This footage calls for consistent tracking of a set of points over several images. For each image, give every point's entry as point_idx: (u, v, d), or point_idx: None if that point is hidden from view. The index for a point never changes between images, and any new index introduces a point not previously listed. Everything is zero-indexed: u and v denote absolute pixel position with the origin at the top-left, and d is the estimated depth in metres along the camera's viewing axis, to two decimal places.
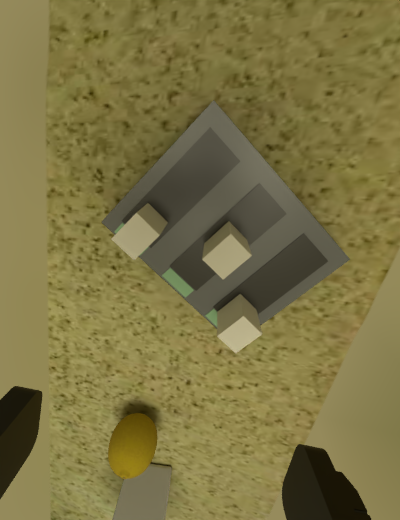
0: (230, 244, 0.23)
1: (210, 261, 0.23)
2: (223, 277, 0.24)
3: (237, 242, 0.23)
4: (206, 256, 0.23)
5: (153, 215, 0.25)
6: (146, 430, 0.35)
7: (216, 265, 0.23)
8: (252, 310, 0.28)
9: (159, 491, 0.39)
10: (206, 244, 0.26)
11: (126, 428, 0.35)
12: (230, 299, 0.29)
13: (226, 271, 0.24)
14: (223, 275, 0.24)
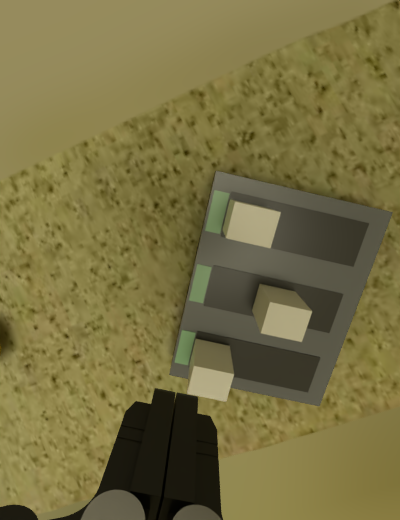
0: (301, 317, 0.21)
1: (272, 310, 0.21)
2: (263, 332, 0.21)
3: (307, 322, 0.21)
4: (275, 304, 0.20)
5: None
6: None
7: (272, 318, 0.21)
8: None
9: None
10: (266, 288, 0.23)
11: None
12: (216, 341, 0.26)
13: (271, 330, 0.21)
14: (265, 330, 0.21)
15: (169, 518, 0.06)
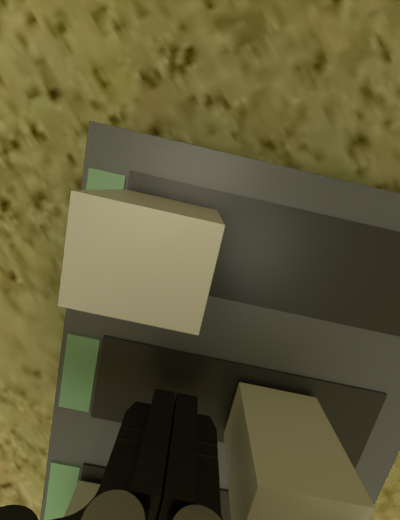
0: None
1: (265, 507, 0.07)
2: None
3: None
4: (272, 490, 0.07)
5: None
6: None
7: None
8: None
9: None
10: (252, 403, 0.10)
11: None
12: None
13: None
14: None
15: (169, 518, 0.06)
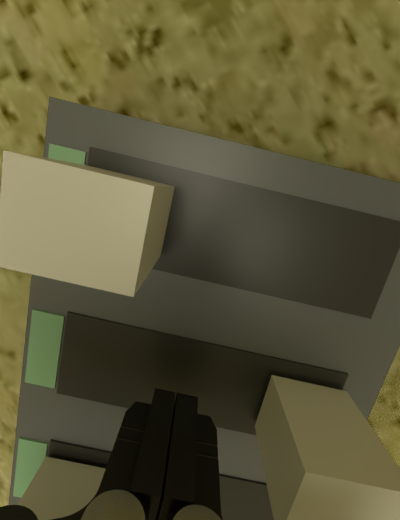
0: (387, 509, 0.08)
1: (311, 492, 0.08)
2: None
3: None
4: (319, 476, 0.08)
5: (161, 223, 0.09)
6: None
7: (309, 510, 0.08)
8: None
9: None
10: (287, 395, 0.10)
11: None
12: (90, 459, 0.13)
13: None
14: None
15: (169, 518, 0.06)
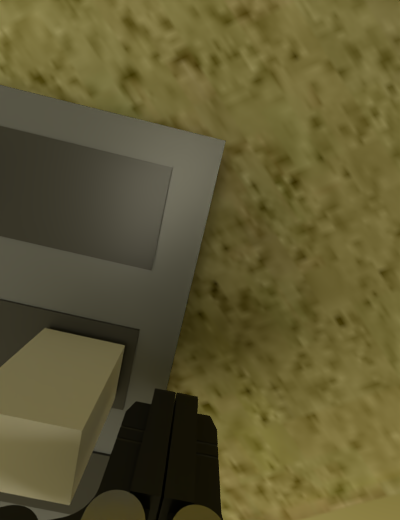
0: (55, 446, 0.07)
1: None
2: None
3: (73, 457, 0.07)
4: None
5: None
6: None
7: None
8: None
9: None
10: (38, 344, 0.10)
11: None
12: None
13: None
14: None
15: (169, 518, 0.06)
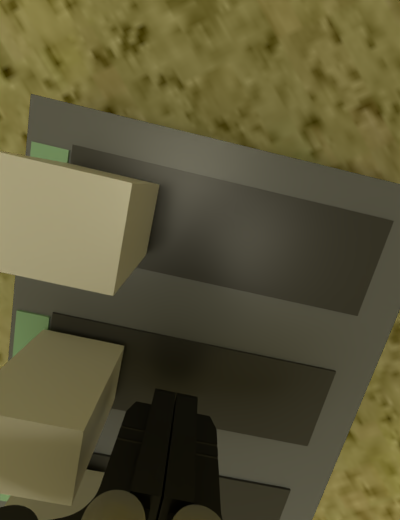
0: (56, 447, 0.07)
1: None
2: None
3: (75, 458, 0.07)
4: None
5: (145, 221, 0.08)
6: None
7: None
8: None
9: None
10: (37, 345, 0.10)
11: None
12: None
13: None
14: None
15: (169, 518, 0.06)
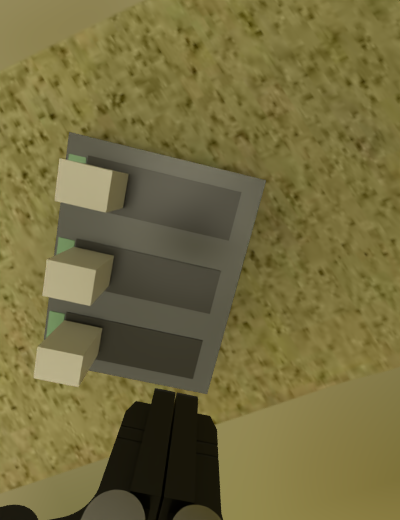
0: (85, 277, 0.18)
1: (51, 269, 0.18)
2: (45, 294, 0.19)
3: (92, 282, 0.18)
4: (53, 262, 0.18)
5: (120, 189, 0.20)
6: None
7: (52, 278, 0.18)
8: (94, 353, 0.23)
9: None
10: (72, 250, 0.21)
11: None
12: (88, 323, 0.24)
13: (54, 293, 0.19)
14: (47, 292, 0.19)
15: (169, 518, 0.06)
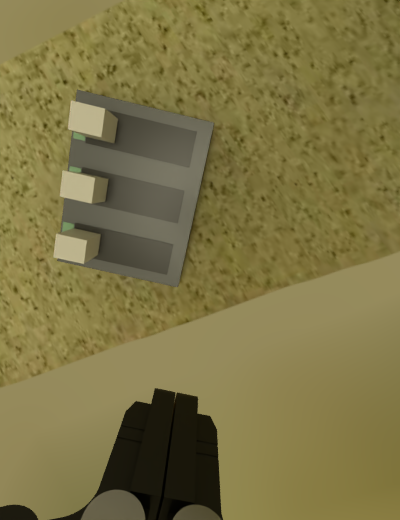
0: (87, 183, 0.28)
1: (65, 177, 0.28)
2: (61, 195, 0.28)
3: (92, 186, 0.28)
4: (67, 172, 0.27)
5: (111, 126, 0.29)
6: None
7: (66, 184, 0.28)
8: (95, 250, 0.32)
9: None
10: (79, 172, 0.30)
11: None
12: (91, 231, 0.33)
13: (67, 194, 0.28)
14: (63, 193, 0.28)
15: (169, 518, 0.06)
